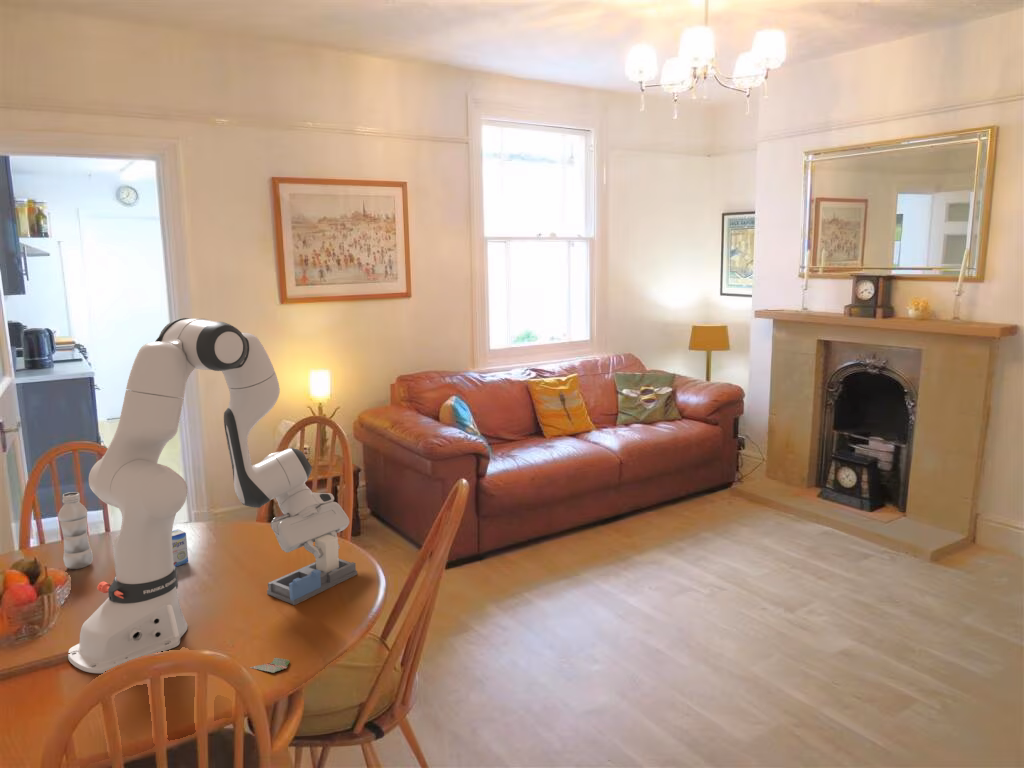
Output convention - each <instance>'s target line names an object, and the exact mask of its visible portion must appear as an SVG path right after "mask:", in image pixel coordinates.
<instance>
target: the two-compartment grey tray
mask: <svg viewBox="0 0 1024 768" xmlns="http://www.w3.org/2000/svg"><path fill="white" fill-rule="evenodd" d="M356 566H357V565H356V562H353V561H352V562H351V561H348V560H345V559H341V558H339V568H337V569H334V570H332V571H330V572H328V573H326V572H323V571H320V570H317V569H316V561H315V562H311V563H310V564H308V565H306V566H303V567H301V568H298V569H296V570H294V571H292V572H290V573H287V574H285V575H282V576H281V577H278V578H276V579H274V580H272V581H269V582H267V589H266V594H267V595H268V596H271V597H273V598H275V599H278V600H280V601H283V602H286V603H288V604H291V605H292V606H296V605H298V604H299V603H302V602H305V601H306V600H308V599H310V598H312V597H314V596H316V595H318V594H321V593H322V592H324V591H326V590H329V589H331V588H332V587H334V586H337V585H338V584H341V583H342V582H345V581H347V580H349V579H350V578H351V579H352V578H353V577H355V576H357V575H358V570H357V567H356Z"/></svg>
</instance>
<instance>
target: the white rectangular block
mask: <svg viewBox="0 0 1024 768" xmlns="http://www.w3.org/2000/svg"><path fill="white" fill-rule="evenodd" d="M338 544H339V537H338V536H337V537H334V536H331V535H328V534H327V535H324V536H322V537H319V538H317V539H315V542H314V546H315V547H316V548H317V549H320V548H321V550H322V552H323V556H322V557H320V558H318V559H316V558H315V562H316V569H317V570H320V571H323V572H326V573H328V572H330V571H332V570H334V569H337V568H339V559H340V558H339V549H338Z"/></svg>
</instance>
